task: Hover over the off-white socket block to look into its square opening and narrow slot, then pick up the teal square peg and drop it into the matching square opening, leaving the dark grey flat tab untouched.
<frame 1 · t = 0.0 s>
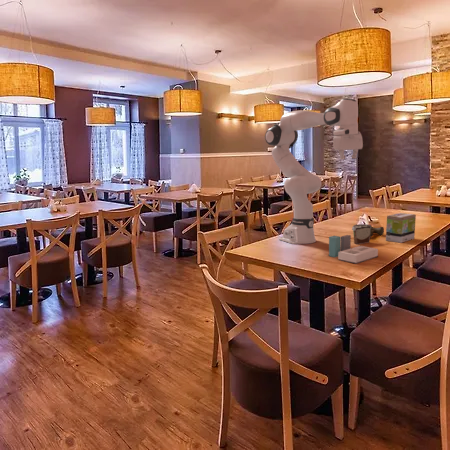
hand: (348, 158, 213), 48 cm above the table, tool pointing down, fingers open, 8 cm apart
square peg: (334, 256, 210), on the table
kendama: (372, 236, 254), on the table
flat tab: (345, 252, 216), on the table
socket block: (358, 258, 204), on the table
tea box: (400, 240, 240), on the table
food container: (359, 242, 238), on the table
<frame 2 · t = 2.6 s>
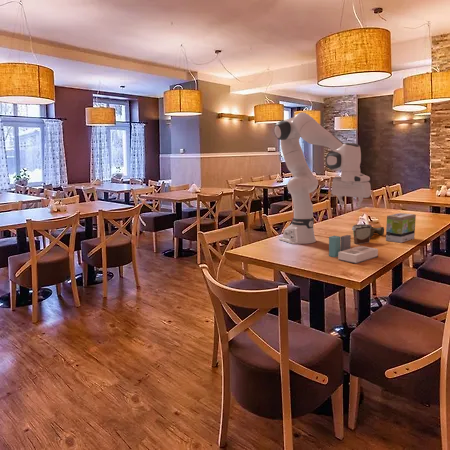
hand: (350, 205, 202), 26 cm above the table, tool pointing down, fingers open, 8 cm apart
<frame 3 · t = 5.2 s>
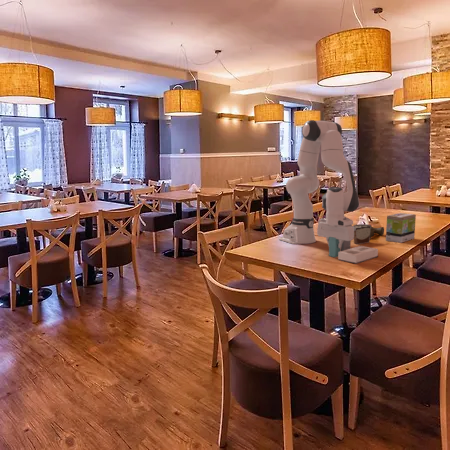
hand: (334, 247, 209), 5 cm above the table, tool pointing down, fingers closed on square peg, 4 cm apart
square peg: (334, 256, 210), on the table, touching gripper
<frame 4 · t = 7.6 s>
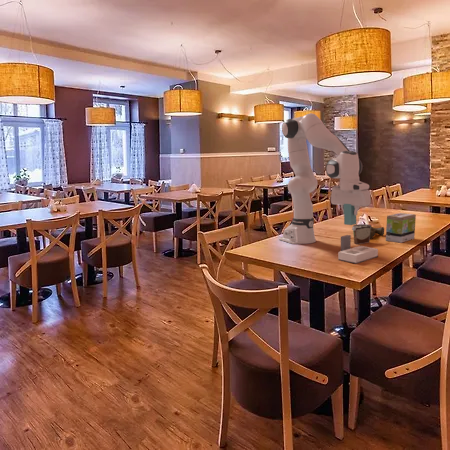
hand: (350, 214, 198), 22 cm above the table, tool pointing down, fingers closed on square peg, 4 cm apart
square peg: (350, 224, 199), point 18 cm above the table, touching gripper
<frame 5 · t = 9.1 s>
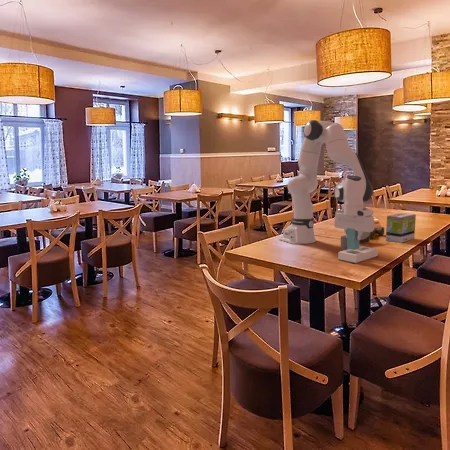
hand: (353, 239, 199), 10 cm above the table, tool pointing down, fingers closed on square peg, 4 cm apart
square peg: (353, 248, 200), point 6 cm above the table, touching gripper
when the fingers open (7 cm above the table, at t = 10.3 s): square peg drops 1 cm, resting on socket block.
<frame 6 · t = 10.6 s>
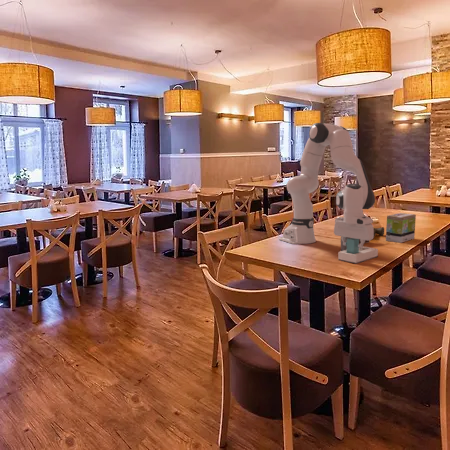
hand: (352, 246, 200), 7 cm above the table, tool pointing down, fingers open, 7 cm apart
square peg: (352, 259, 201), resting on socket block
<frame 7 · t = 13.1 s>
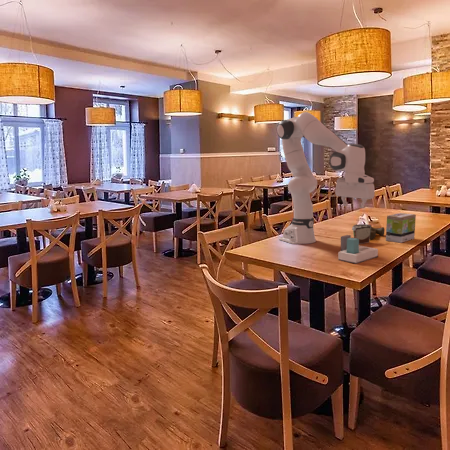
hand: (353, 206, 202), 25 cm above the table, tool pointing down, fingers open, 8 cm apart
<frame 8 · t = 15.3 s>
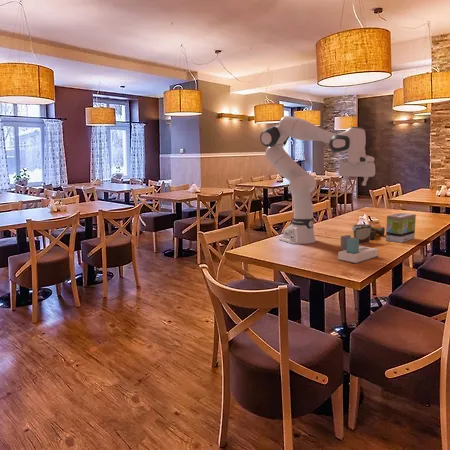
hand: (356, 185, 218), 34 cm above the table, tool pointing down, fingers open, 8 cm apart
at the end: square peg 0.1 cm from the target spot on the socket block, point 0.5 cm above the socket block's base; square peg tilted 0°; the gripper is holding nothing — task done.
